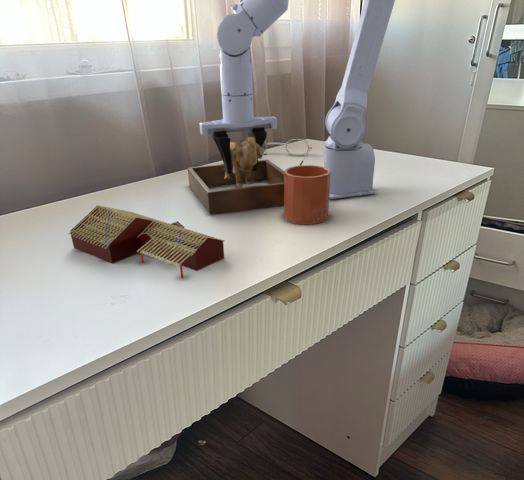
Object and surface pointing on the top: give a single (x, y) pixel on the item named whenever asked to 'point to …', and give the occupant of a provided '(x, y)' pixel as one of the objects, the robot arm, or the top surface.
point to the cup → (306, 194)
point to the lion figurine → (244, 158)
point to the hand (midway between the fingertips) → (240, 171)
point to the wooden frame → (237, 196)
